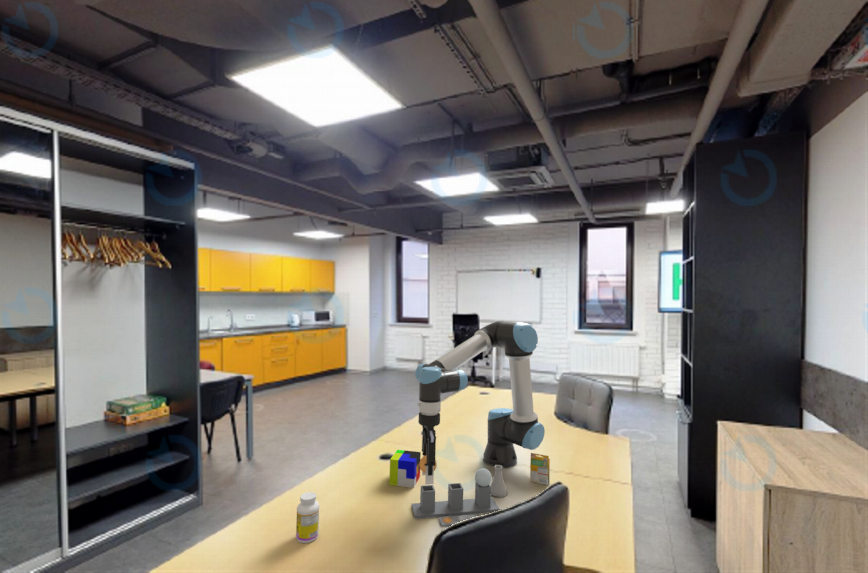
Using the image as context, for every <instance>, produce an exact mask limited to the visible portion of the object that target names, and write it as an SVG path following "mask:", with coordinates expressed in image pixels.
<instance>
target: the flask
mask: <svg viewBox="0 0 868 573" xmlns="http://www.w3.org/2000/svg"><path fill="white" fill-rule="evenodd" d="M493 467H494V474H493V475H494V476H493V478H492V480H491V482H490V486H491V496H494V497H498V498H500V497H501V498H502V497H503V498H504V497H506V496H507V495H508V491H507V488H506V484H505V482H504V478H503V468H504V467H502V466H501V465H495V466H493Z"/></svg>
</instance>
